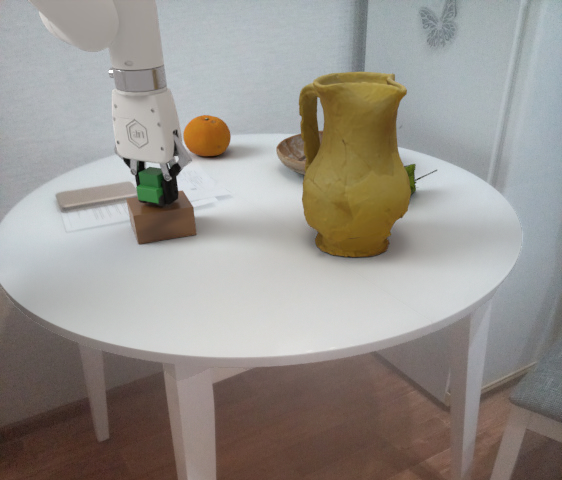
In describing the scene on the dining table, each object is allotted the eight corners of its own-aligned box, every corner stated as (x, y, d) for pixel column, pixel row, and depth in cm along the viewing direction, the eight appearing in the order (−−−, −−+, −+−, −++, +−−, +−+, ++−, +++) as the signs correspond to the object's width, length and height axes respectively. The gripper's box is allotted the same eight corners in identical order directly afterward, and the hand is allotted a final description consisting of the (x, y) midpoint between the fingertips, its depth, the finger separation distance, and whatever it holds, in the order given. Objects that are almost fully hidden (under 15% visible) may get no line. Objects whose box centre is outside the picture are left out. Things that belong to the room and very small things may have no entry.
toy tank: (361, 174, 103) (407, 176, 96) (416, 150, 113) (462, 150, 107) (364, 213, 106) (409, 216, 100) (418, 186, 117) (462, 188, 110)
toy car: (160, 208, 92) (155, 178, 88) (138, 204, 93) (132, 174, 90) (179, 195, 96) (176, 166, 93) (158, 191, 97) (153, 162, 94)
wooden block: (138, 244, 94) (133, 216, 90) (131, 225, 99) (125, 198, 96) (196, 234, 96) (193, 206, 93) (186, 217, 102) (182, 190, 99)
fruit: (209, 164, 124) (206, 126, 119) (176, 155, 129) (172, 118, 124) (240, 152, 130) (238, 115, 125) (208, 144, 135) (205, 108, 130)
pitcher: (319, 270, 85) (328, 88, 70) (286, 227, 100) (288, 68, 85) (421, 258, 89) (450, 83, 74) (375, 218, 103) (391, 64, 89)
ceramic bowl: (302, 146, 133) (302, 124, 130) (398, 159, 125) (401, 136, 122) (258, 179, 117) (257, 154, 113) (366, 196, 109) (368, 170, 106)
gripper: (78, 80, 83) (104, 199, 94) (174, 89, 77) (190, 215, 89) (110, 70, 88) (131, 184, 100) (202, 78, 83) (213, 198, 94)
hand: (158, 198), depth 94 cm, fingers closed on toy car, 4 cm apart
